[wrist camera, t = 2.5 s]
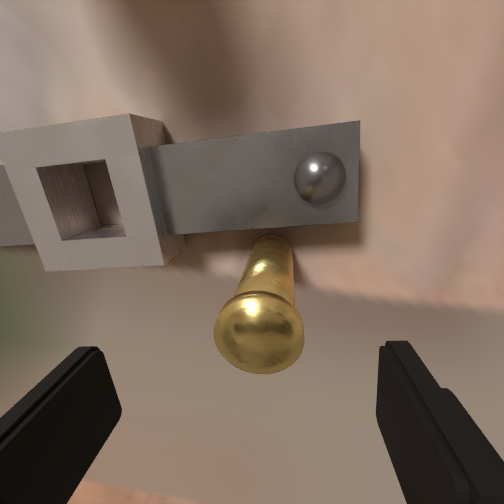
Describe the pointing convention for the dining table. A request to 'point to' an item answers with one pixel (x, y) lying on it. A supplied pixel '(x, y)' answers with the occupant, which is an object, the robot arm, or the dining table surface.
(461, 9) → the dining table surface
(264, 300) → the link pin
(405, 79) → the dining table surface
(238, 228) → the studded connector plate
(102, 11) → the dining table surface
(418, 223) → the dining table surface
